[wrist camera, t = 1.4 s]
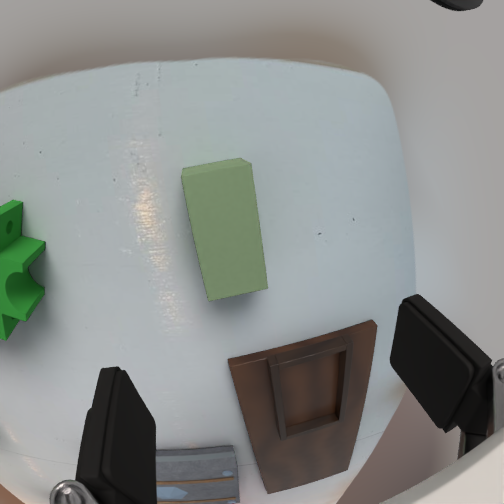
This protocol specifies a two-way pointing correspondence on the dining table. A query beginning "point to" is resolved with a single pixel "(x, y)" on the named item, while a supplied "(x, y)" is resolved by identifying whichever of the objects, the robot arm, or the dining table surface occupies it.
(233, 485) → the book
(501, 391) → the robot arm
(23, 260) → the pipe clamp
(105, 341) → the dining table surface
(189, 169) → the pad block
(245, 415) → the recessed wooden panel
